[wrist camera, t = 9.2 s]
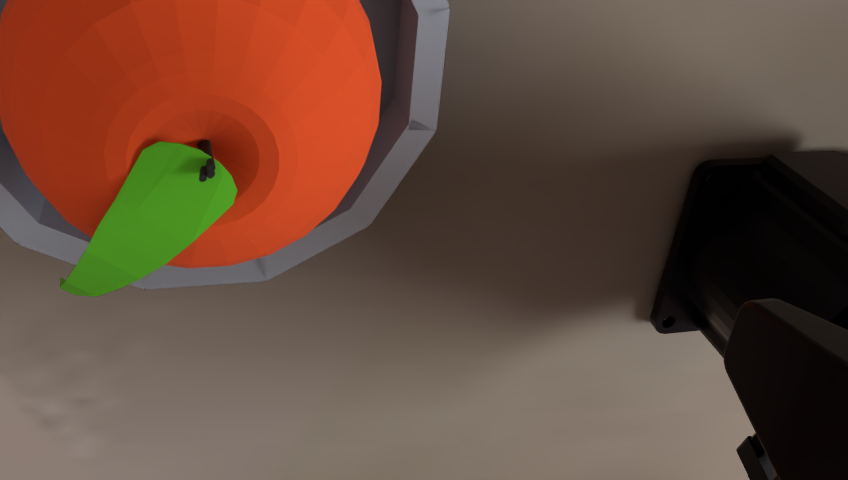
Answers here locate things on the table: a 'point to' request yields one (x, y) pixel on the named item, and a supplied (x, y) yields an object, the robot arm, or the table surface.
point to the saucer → (379, 177)
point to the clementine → (187, 123)
